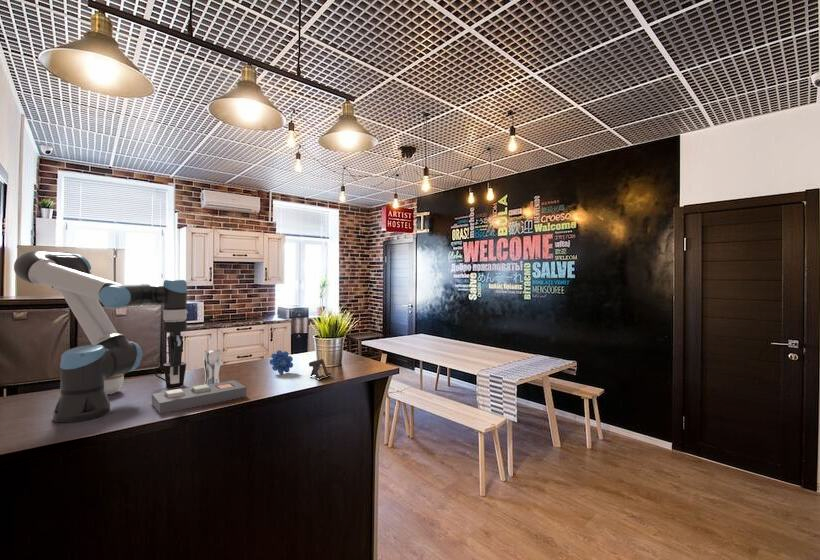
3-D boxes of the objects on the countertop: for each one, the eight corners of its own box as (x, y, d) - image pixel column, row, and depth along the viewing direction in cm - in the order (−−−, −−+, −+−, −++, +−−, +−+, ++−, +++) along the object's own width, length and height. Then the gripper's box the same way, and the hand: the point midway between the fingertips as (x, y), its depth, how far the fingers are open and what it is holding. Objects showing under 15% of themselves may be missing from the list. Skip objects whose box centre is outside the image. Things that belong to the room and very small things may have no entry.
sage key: (195, 396, 146) (195, 389, 146) (191, 393, 150) (192, 386, 150) (209, 394, 150) (209, 387, 150) (205, 391, 153) (205, 384, 153)
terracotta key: (220, 395, 152) (220, 388, 152) (216, 392, 156) (216, 385, 156) (233, 393, 156) (233, 386, 156) (229, 390, 159) (229, 383, 159)
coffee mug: (190, 383, 172) (190, 361, 172) (177, 389, 163) (177, 366, 163) (166, 382, 173) (166, 360, 173) (152, 388, 165) (152, 365, 165)
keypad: (159, 414, 134) (159, 403, 134) (151, 404, 144) (151, 393, 144) (246, 396, 155) (246, 387, 155) (234, 389, 165) (234, 380, 165)
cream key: (168, 401, 140) (168, 394, 140) (165, 398, 143) (165, 391, 143) (183, 398, 143) (183, 391, 143) (180, 395, 147) (180, 388, 147)
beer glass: (222, 383, 173) (223, 351, 173) (206, 386, 168) (206, 353, 168) (217, 380, 178) (217, 348, 178) (200, 383, 173) (201, 350, 172)
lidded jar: (130, 390, 161) (130, 368, 161) (104, 398, 151) (104, 374, 151) (111, 388, 164) (111, 366, 164) (83, 395, 153) (84, 372, 153)
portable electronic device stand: (319, 381, 180) (319, 363, 180) (306, 379, 184) (306, 361, 184) (331, 377, 188) (331, 360, 188) (318, 375, 192) (318, 358, 191)
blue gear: (271, 377, 186) (271, 352, 186) (268, 373, 192) (268, 350, 192) (295, 374, 192) (295, 350, 192) (291, 371, 198) (292, 348, 198)
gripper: (191, 321, 141) (190, 384, 141) (182, 318, 150) (181, 377, 151) (167, 322, 136) (167, 388, 136) (159, 319, 145) (159, 381, 145)
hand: (174, 383), depth 143 cm, fingers closed
